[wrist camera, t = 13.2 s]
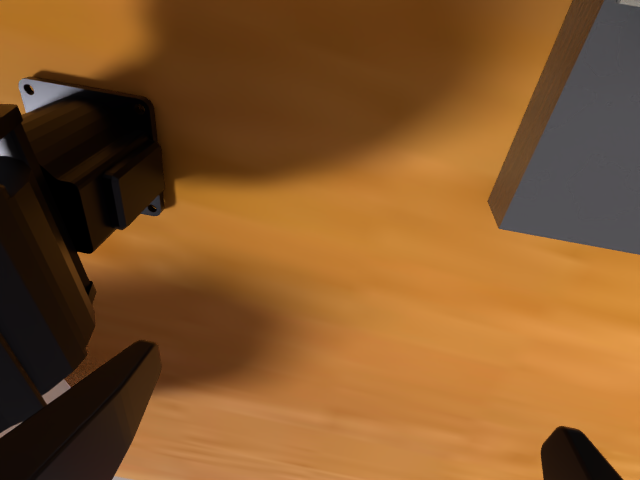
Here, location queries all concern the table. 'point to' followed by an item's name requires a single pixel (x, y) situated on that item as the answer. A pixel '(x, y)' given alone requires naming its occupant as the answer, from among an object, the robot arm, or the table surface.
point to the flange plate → (580, 136)
